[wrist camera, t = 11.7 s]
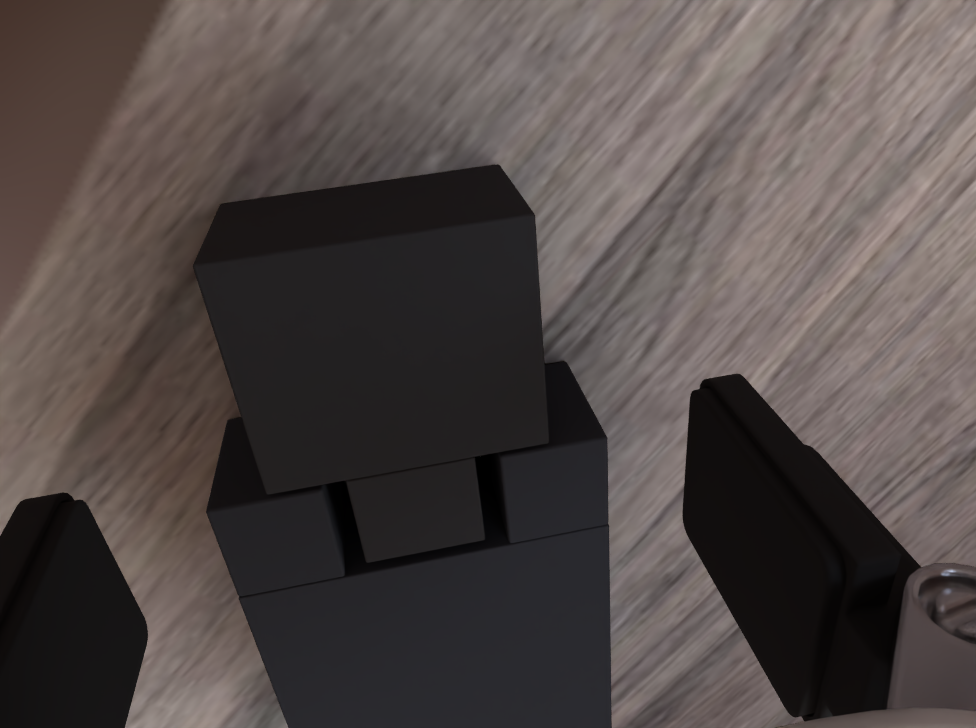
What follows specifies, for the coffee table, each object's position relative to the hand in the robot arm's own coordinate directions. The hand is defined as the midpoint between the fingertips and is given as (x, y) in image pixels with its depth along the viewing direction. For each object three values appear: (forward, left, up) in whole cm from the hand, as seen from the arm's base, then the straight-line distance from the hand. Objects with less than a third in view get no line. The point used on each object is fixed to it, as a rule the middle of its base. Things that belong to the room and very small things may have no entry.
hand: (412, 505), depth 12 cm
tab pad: (+2, 0, -9) cm, 10 cm away
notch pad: (+11, 0, -10) cm, 14 cm away
